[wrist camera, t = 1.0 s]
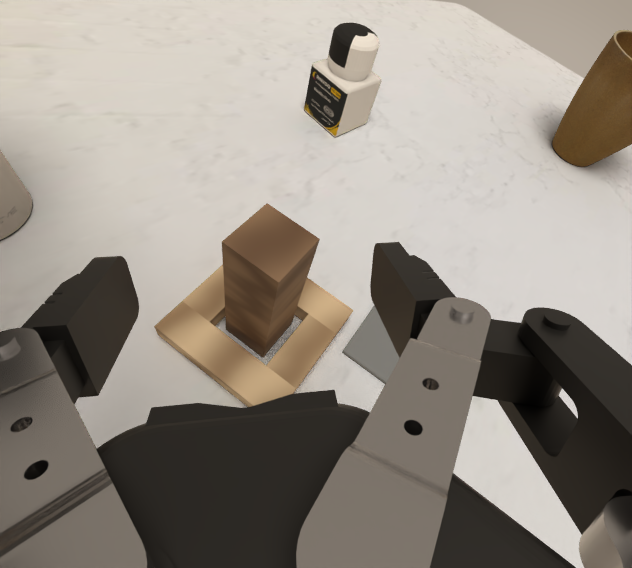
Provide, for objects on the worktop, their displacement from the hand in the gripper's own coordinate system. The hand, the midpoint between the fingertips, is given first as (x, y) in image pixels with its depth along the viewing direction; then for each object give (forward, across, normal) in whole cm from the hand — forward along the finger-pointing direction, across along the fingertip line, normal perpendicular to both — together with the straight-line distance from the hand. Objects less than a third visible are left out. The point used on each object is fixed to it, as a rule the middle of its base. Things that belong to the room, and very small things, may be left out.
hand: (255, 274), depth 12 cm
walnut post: (+18, +1, +16) cm, 24 cm away
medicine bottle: (+49, -11, +1) cm, 50 cm away
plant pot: (+49, -54, +7) cm, 73 cm away
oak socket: (+18, +1, +16) cm, 24 cm away
